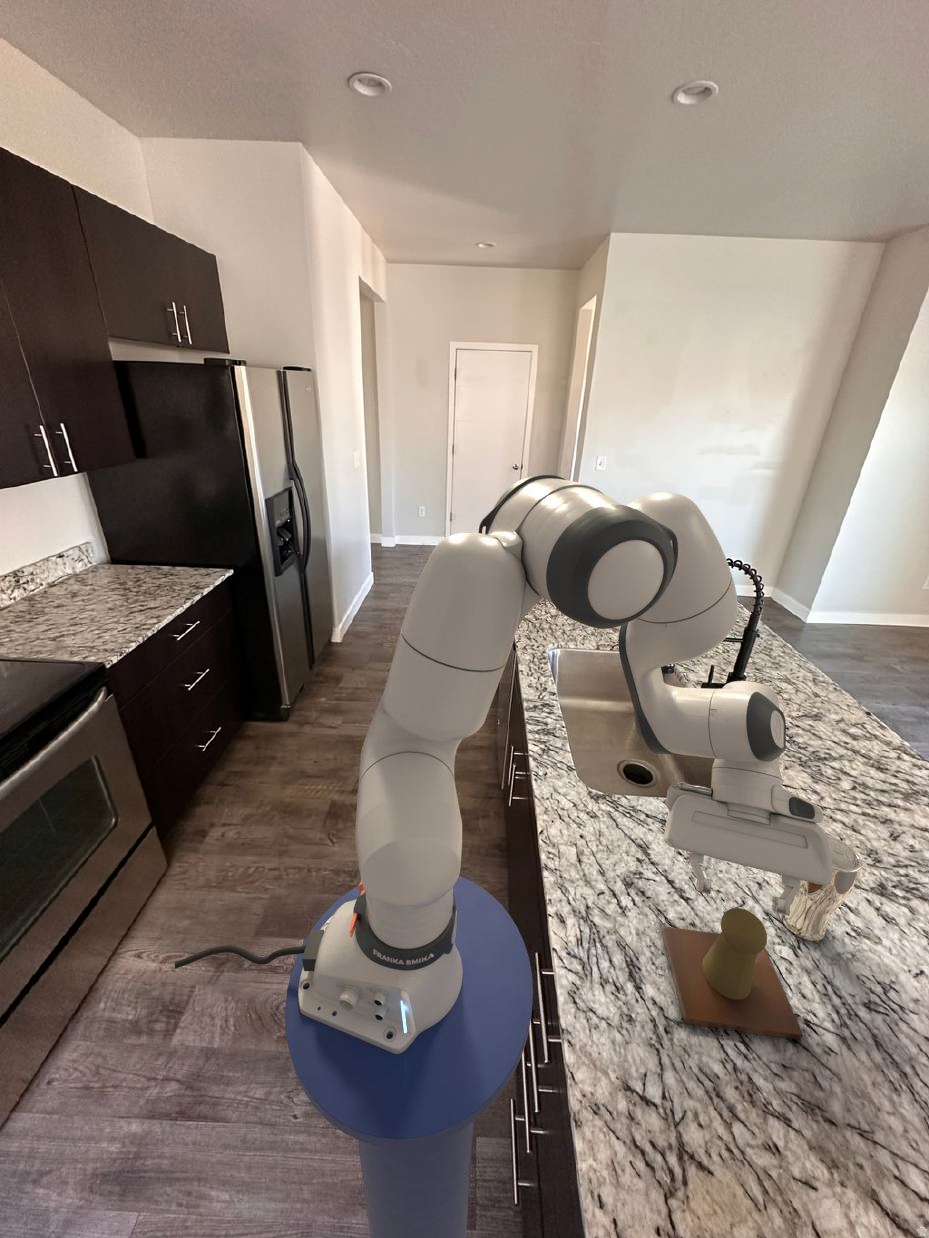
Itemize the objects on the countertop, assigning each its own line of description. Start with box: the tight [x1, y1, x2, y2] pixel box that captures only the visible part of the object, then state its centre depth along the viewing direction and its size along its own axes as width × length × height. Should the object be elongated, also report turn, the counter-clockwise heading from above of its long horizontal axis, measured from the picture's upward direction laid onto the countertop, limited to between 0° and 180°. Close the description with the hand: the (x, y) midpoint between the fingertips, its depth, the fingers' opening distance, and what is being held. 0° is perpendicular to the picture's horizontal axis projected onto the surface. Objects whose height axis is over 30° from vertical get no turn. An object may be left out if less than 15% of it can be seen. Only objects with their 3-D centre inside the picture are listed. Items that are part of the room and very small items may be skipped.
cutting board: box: [660, 925, 804, 1041], centre depth 67 cm, size 14×12×1 cm
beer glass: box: [778, 834, 863, 942], centre depth 72 cm, size 7×7×15 cm
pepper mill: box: [702, 907, 768, 1000], centre depth 64 cm, size 6×6×11 cm
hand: (741, 902), depth 65 cm, fingers open, 8 cm apart
